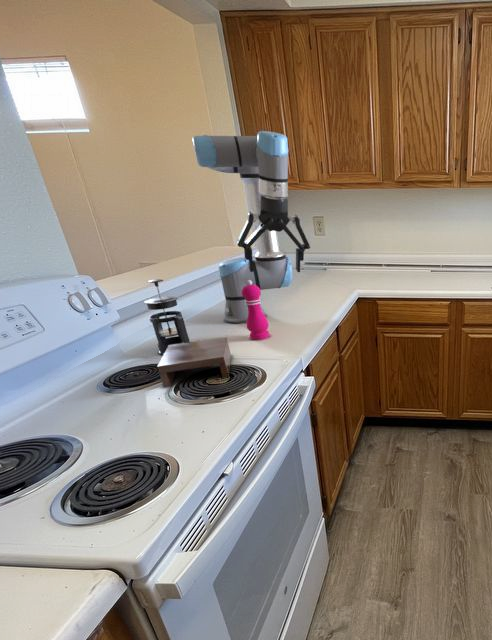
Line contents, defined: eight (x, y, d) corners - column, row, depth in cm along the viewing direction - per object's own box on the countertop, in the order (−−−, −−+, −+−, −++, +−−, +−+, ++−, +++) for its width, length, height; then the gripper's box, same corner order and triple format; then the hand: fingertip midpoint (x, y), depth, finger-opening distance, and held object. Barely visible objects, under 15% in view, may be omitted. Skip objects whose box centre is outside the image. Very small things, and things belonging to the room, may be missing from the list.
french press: (151, 353, 134) (128, 282, 125) (176, 343, 142) (156, 276, 133) (177, 357, 130) (156, 284, 121) (201, 347, 138) (183, 277, 129)
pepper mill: (263, 341, 142) (252, 282, 134) (245, 340, 144) (232, 282, 135) (274, 334, 149) (264, 278, 140) (256, 333, 150) (245, 277, 142)
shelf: (174, 363, 125) (168, 345, 123) (231, 355, 130) (226, 337, 128) (163, 387, 110) (157, 366, 108) (228, 376, 115) (223, 356, 113)
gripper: (225, 195, 107) (231, 274, 118) (321, 203, 118) (319, 275, 129) (223, 189, 112) (229, 265, 123) (315, 197, 123) (313, 266, 134)
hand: (275, 270), depth 126 cm, fingers open, 13 cm apart
